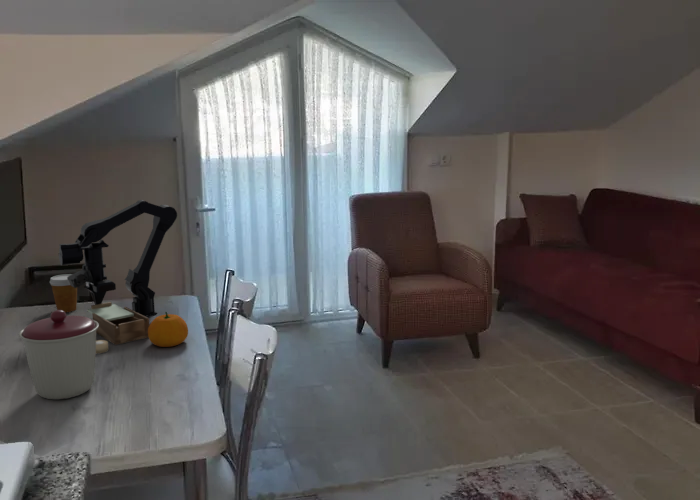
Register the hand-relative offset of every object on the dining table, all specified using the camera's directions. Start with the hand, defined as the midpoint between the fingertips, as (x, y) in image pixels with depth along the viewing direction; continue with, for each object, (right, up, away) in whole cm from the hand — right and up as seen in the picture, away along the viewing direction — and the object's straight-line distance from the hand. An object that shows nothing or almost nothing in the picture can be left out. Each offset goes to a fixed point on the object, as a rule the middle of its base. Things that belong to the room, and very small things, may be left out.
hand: (98, 307), depth 226 cm
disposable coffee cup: (-17, -2, +15) cm, 23 cm away
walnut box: (+12, -7, -12) cm, 19 cm away
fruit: (+29, -9, -21) cm, 37 cm away
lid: (+7, -1, -7) cm, 10 cm away
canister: (+13, -17, -56) cm, 60 cm away
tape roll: (+10, -10, -27) cm, 31 cm away
